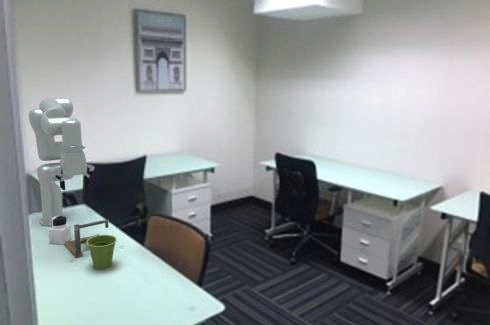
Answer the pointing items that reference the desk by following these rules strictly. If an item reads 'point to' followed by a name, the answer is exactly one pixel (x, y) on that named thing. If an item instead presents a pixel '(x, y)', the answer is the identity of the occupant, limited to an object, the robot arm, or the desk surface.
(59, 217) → the medicine bottle
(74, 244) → the wood and metal stand
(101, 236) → the plant pot
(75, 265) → the desk surface
